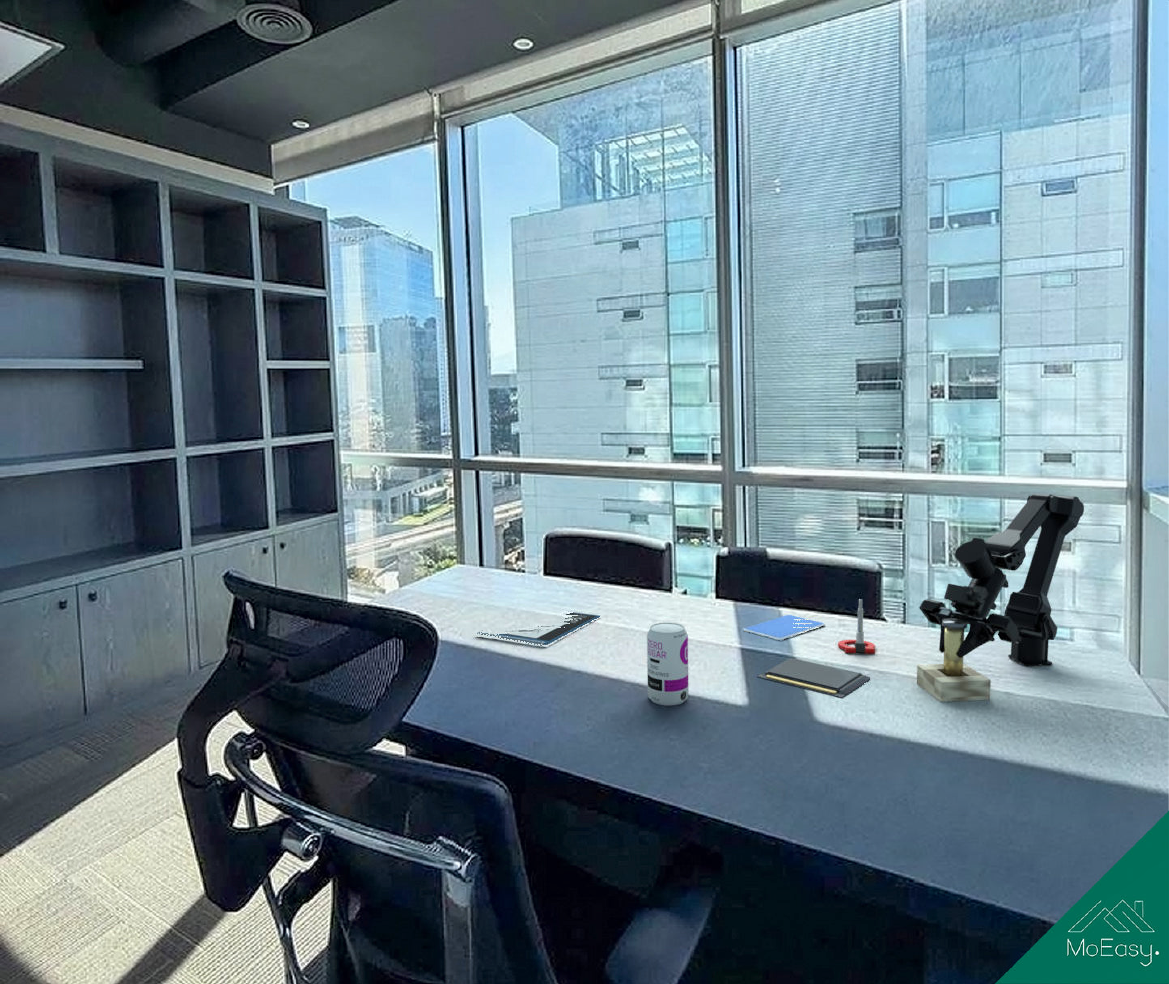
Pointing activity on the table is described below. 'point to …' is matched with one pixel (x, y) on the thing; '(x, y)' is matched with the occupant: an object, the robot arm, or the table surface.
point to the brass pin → (953, 646)
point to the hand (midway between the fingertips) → (949, 654)
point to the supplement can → (667, 663)
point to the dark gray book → (816, 677)
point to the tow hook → (858, 638)
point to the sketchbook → (549, 630)
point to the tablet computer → (782, 627)
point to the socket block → (953, 684)
